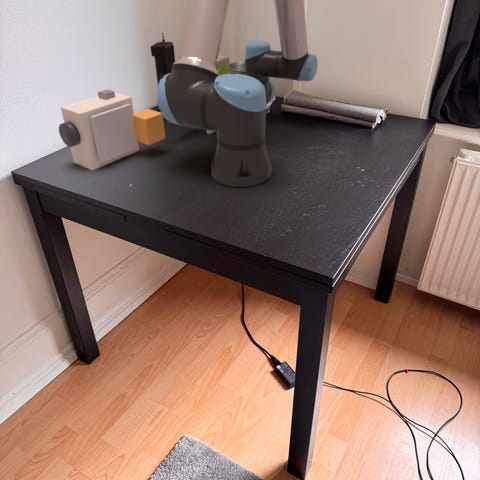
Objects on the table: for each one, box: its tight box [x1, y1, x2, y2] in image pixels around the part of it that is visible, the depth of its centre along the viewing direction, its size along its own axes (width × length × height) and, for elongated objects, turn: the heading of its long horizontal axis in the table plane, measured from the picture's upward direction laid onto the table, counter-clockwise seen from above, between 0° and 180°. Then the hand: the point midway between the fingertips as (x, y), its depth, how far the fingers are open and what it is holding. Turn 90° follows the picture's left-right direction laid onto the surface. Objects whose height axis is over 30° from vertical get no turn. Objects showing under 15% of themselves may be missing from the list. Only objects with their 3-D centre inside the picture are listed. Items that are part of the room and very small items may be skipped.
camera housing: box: [58, 89, 140, 171], centre depth 119 cm, size 9×18×16 cm, turn 142°
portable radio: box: [150, 32, 176, 121], centre depth 142 cm, size 8×6×25 cm
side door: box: [90, 104, 166, 163], centre depth 118 cm, size 6×18×12 cm, turn 142°
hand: (189, 123), depth 124 cm, fingers open, 13 cm apart
